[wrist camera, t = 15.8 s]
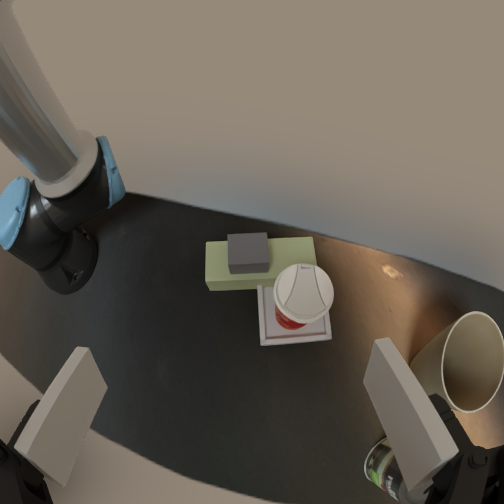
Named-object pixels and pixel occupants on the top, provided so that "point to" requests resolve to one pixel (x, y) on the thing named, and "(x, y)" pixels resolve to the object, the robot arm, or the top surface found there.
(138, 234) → the top surface
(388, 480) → the coffee can
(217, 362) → the top surface
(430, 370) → the plant pot
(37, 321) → the top surface
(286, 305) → the paper cup
